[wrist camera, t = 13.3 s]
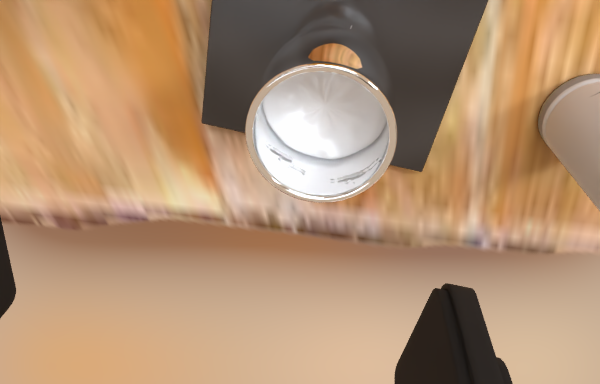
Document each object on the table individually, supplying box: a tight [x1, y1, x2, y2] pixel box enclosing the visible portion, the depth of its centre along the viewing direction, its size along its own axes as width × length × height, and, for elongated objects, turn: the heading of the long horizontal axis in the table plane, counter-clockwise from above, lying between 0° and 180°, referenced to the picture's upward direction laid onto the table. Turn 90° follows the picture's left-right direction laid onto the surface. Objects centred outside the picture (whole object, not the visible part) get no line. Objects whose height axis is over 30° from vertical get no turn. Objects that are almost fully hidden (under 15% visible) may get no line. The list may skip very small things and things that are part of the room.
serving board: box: [202, 0, 488, 172], centre depth 33 cm, size 16×18×2 cm
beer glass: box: [245, 4, 397, 203], centre depth 26 cm, size 7×7×15 cm
